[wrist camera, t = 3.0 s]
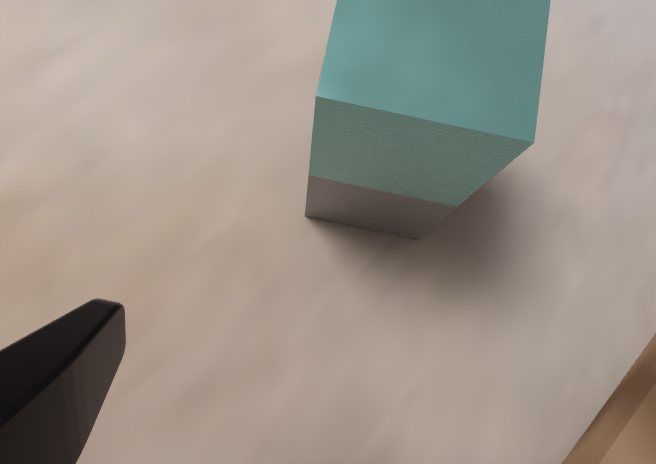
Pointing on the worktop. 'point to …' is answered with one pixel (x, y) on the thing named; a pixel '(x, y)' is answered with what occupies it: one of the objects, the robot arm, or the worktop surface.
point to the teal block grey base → (421, 107)
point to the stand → (624, 420)
